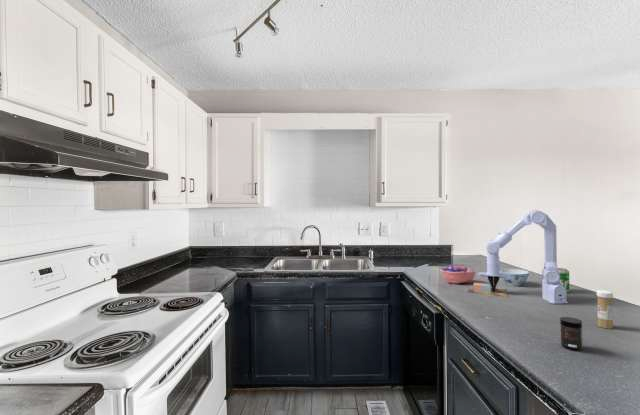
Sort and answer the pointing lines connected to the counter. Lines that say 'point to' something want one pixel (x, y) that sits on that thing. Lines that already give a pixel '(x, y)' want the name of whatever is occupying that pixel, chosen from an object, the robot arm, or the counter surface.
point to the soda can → (564, 278)
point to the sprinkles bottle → (605, 309)
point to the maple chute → (492, 292)
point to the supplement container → (571, 333)
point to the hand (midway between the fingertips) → (493, 291)
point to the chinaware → (515, 276)
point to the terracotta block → (477, 287)
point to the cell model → (457, 274)
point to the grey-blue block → (486, 288)
